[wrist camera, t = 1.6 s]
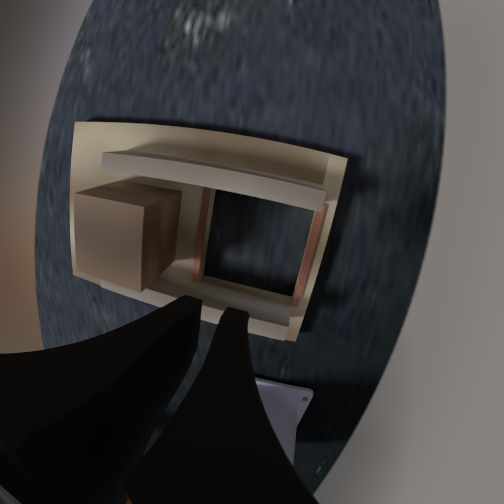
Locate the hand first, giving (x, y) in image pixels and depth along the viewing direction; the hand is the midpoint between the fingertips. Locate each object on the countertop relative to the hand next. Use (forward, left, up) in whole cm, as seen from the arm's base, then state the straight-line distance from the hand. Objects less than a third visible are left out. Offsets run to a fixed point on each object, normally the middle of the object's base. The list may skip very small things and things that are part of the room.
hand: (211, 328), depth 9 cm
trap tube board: (0, +5, -9) cm, 11 cm away
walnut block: (0, +7, -8) cm, 11 cm away
